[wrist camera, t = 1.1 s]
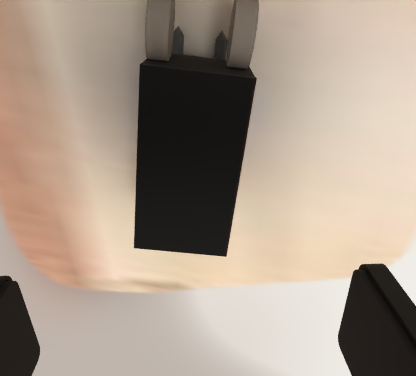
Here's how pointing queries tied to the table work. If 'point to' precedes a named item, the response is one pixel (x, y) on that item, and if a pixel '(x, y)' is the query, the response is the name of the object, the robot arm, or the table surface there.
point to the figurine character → (192, 133)
